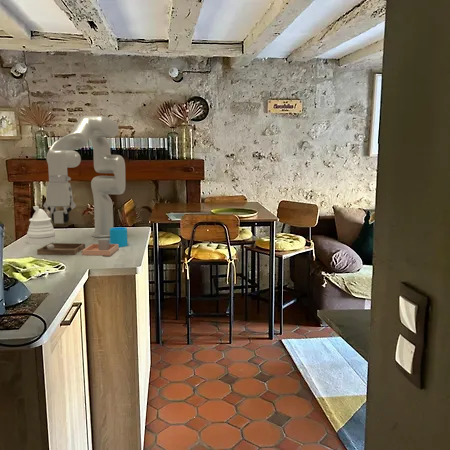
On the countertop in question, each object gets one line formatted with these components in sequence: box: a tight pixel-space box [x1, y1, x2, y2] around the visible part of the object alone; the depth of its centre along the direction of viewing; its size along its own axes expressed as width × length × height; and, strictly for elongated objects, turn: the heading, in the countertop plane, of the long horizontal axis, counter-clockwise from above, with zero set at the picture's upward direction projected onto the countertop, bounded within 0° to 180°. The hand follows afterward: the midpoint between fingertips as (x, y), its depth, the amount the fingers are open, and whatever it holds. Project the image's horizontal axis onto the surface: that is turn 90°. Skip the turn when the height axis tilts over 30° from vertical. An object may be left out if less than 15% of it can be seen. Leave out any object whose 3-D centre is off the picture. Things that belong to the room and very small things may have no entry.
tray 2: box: [81, 243, 120, 257], centre depth 201 cm, size 14×12×2 cm
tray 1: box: [36, 242, 86, 256], centre depth 201 cm, size 14×16×2 cm
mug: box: [109, 226, 128, 248], centre depth 218 cm, size 12×8×8 cm
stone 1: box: [54, 210, 65, 224], centre depth 195 cm, size 4×4×5 cm
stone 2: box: [97, 237, 110, 250], centre depth 204 cm, size 4×4×5 cm
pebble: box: [47, 243, 55, 250], centre depth 201 cm, size 3×3×3 cm
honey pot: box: [26, 205, 57, 245], centre depth 220 cm, size 13×13×18 cm
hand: (60, 221), depth 196 cm, fingers closed on stone 1, 4 cm apart
